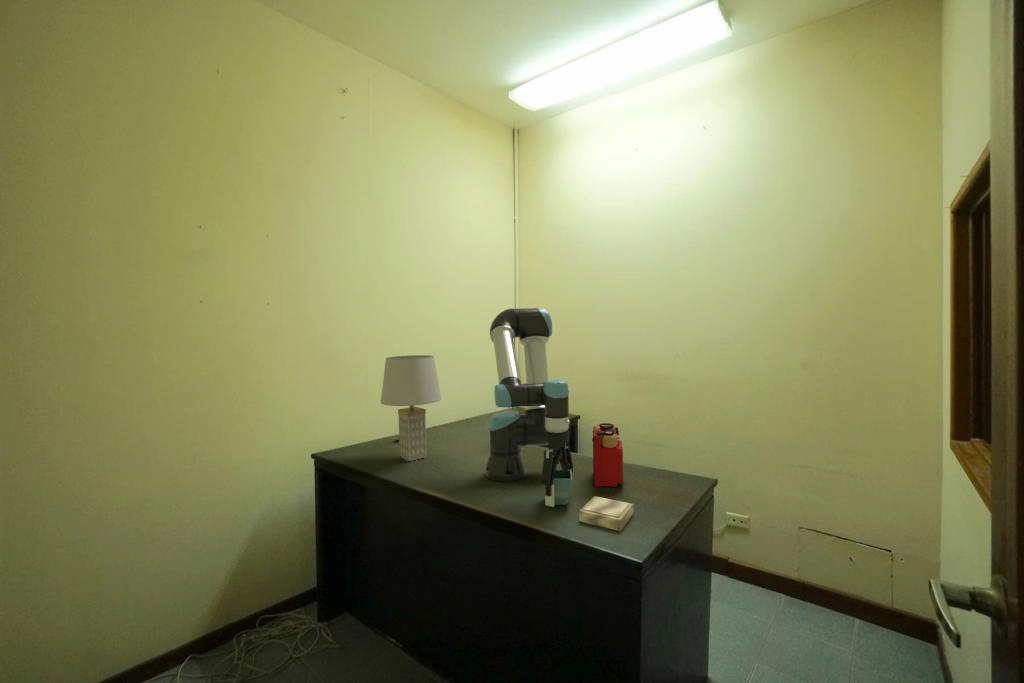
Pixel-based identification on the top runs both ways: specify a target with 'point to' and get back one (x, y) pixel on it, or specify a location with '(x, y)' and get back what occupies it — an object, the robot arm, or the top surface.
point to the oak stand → (606, 513)
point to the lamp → (411, 398)
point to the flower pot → (562, 486)
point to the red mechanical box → (607, 456)
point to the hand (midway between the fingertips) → (558, 498)
